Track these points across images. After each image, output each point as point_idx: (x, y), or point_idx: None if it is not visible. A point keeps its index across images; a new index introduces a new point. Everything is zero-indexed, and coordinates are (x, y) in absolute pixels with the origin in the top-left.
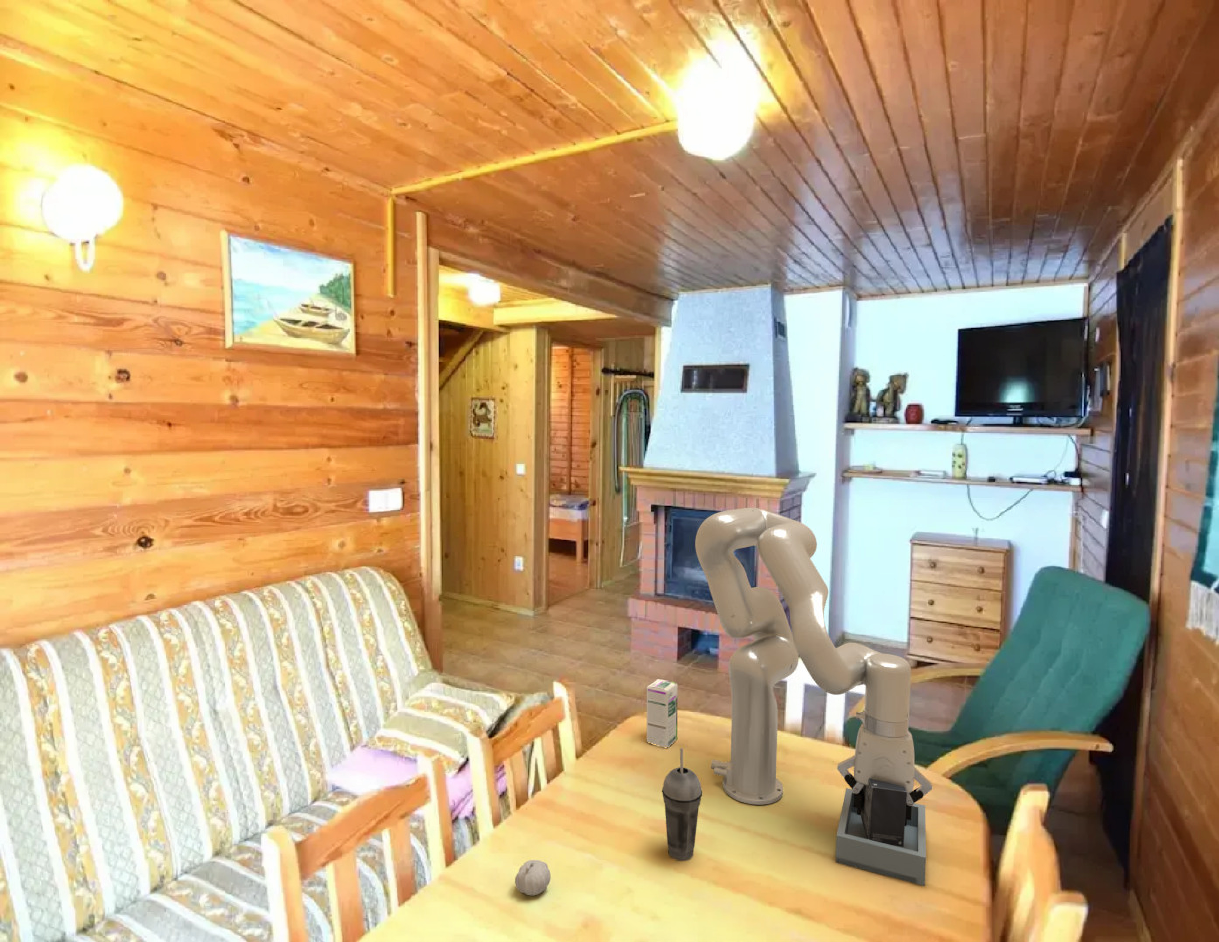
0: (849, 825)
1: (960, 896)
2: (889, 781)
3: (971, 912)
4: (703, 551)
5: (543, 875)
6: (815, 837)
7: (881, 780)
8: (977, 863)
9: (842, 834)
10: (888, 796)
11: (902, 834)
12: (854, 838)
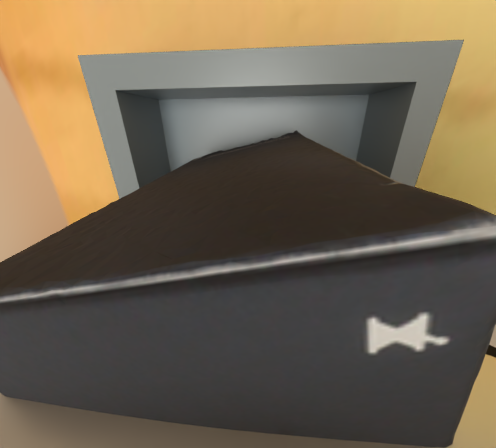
0: None
1: (59, 78)
2: (159, 443)
3: (11, 5)
4: None
5: None
6: (429, 177)
7: (272, 437)
8: None
9: (428, 66)
10: (181, 214)
11: (180, 166)
12: (372, 59)
